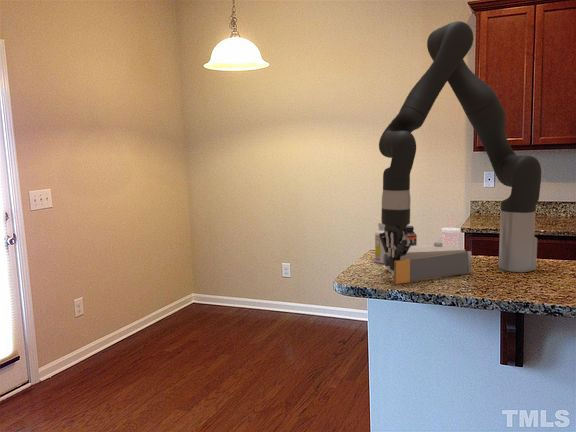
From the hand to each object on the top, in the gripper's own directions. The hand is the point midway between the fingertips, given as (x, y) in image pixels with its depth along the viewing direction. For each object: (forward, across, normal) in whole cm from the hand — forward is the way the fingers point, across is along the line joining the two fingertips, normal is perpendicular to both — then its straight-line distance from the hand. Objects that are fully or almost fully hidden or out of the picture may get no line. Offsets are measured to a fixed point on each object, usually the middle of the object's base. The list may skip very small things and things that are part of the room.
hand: (394, 269), depth 137 cm
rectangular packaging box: (+3, +5, -14) cm, 15 cm away
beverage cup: (+3, +21, -36) cm, 41 cm away
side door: (+3, -3, -11) cm, 12 cm away
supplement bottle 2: (+4, +20, -18) cm, 27 cm away
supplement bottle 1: (+4, +22, -11) cm, 25 cm away
